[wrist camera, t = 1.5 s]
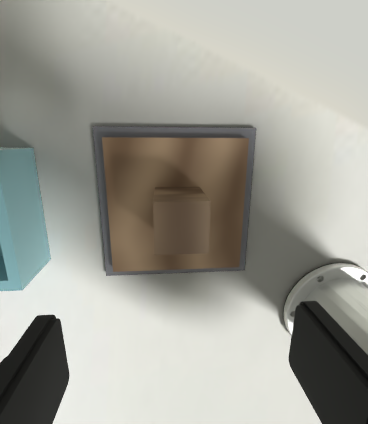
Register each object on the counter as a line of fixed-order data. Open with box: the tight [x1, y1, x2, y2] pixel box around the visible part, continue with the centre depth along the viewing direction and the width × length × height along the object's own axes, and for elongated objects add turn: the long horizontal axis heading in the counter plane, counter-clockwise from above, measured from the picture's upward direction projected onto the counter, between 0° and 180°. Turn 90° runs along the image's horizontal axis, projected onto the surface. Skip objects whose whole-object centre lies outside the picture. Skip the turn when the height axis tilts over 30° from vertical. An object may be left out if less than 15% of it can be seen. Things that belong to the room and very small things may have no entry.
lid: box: [102, 137, 249, 272], centre depth 24 cm, size 14×14×7 cm
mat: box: [93, 126, 256, 276], centre depth 27 cm, size 16×16×1 cm
